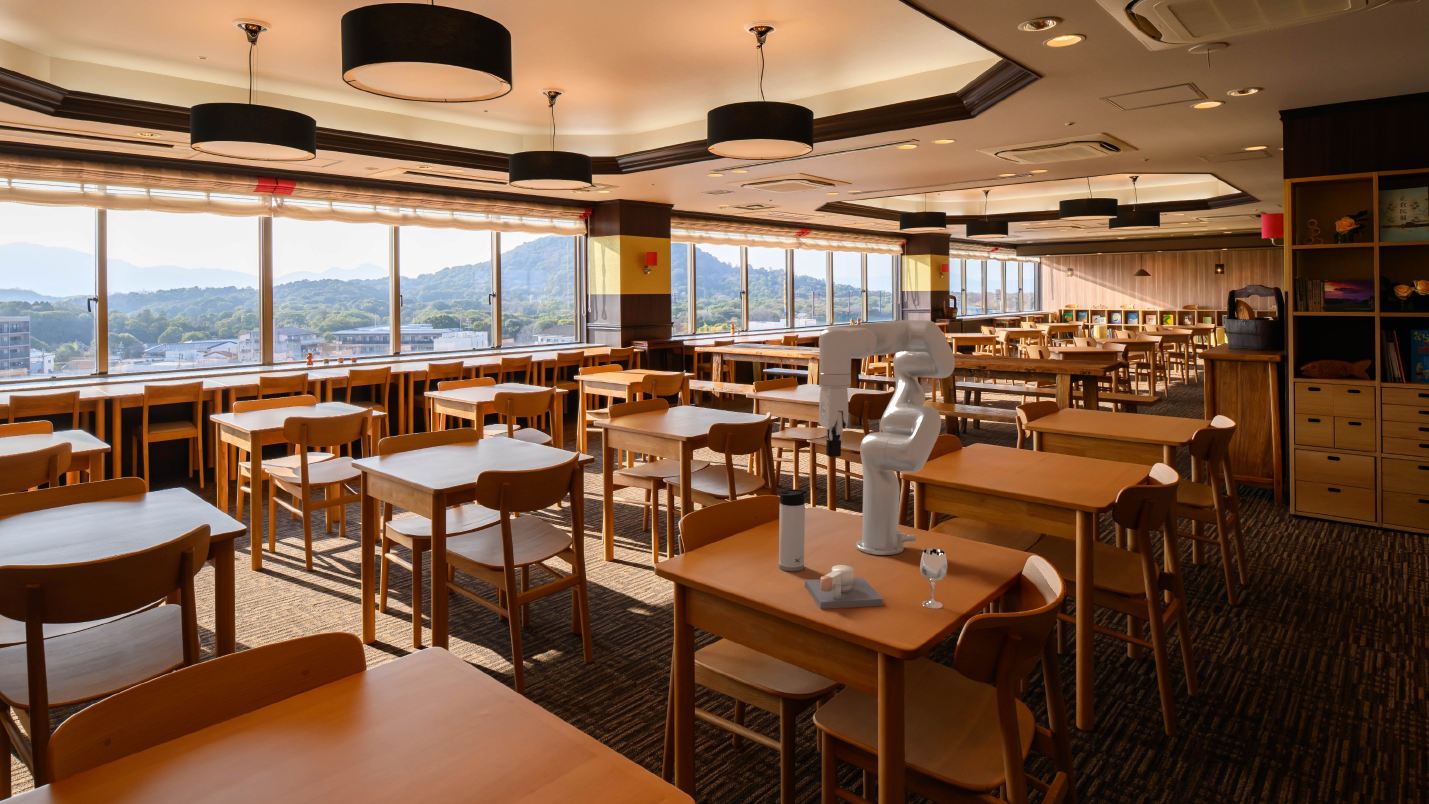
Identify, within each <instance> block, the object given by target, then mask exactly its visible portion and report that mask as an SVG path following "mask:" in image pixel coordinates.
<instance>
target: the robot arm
mask: <svg viewBox="0 0 1429 804" xmlns="http://www.w3.org/2000/svg"><path fill="white" fill-rule="evenodd" d="M818 346H819V359H818V360H819V363H818V364H819V366H818V367H819V369H818V370H819V371H818V372H819V373H818V387H819V388H820V392H819V402H818V403H819V404H818V417H817V418H818V421H817V422H818V424H819V425H820V426H821V427H823V428H825V434H826V442H825V443H826V446H825V447H826V448H825V449H826V451H825V452H826V453H825V455H826V456H828V457H829V458H833V457H834V458H835V457H837V458H838V457H841V456H842V435H843V434H844V433H843V432H844V431H843V429H844V430H845V429H847V427H848V424H849V423H848V422H849V396H848V395H849V394H848V388H851V387H852V386H851V384H852V383H851V382H852V380H851V379H852V377H851V376H852V375H851V373H852V359H866V358H869V357H871V356H885V355H890V354H894V356H893V361H892V362H893V371H894V380H895V381H894V382H895V391H894V393H893V395H892V397H891V398H890V400H889V403H888V404H887V406H886V409H885V410H884V411H883V414H882V415H881V419H880V430H881V431H880V432H879V431H878V432H875V431H874V432H870V433H868V434H866V435H865V436H864V437H863V438H862V440H861V443H860V448H859V453H860V459H861V467H862V477H863V478H862V480H863V481H862V482H863V483H862V485H863V486H862V487H863V488H862V526H861V527H862V530H861V539H859V540H856V542H855V547H856V549H857V550H859V551H861V552H863V553H864V554H869V555H878V556H889V555H890V556H892V555H897V554H900V553H902V552H903V551H904V547H905V546H904V544H905V542H908V543H911V542H912V543H913V542H914V543H915V542H916V540H917V539H916V535H915V534H908V533H907V532H902V533H901V532H900V531H899V518H900V517H899V515H900V513H899V512H900V509H899V508H900V483H899V480H898V477H897V475H896V473H895V472H900V473H901V472H902V473H909V474H910V473H912V474H915V473H918V472H919V471H921V470H922V469H923V468H924V466H925V464H926V463H927V461H928V459H929V457H930V454H931V452H932V451H933V448H934V447H935V444H936V442H937V440H938V437H939V435H940V432H941V429H942V428H941V427H942V419H941V415H940V411H938V410H937V409H936V408H935V407H932V406H929V405H924V404H925V401H926V394H925V392H924V391H925V390H924V389H923V387H922V386H921V384H920V383H919V381H918V379H917V378H927V379H928V378H930V379H931V378H932V379H945V378H948V377H950V376H951V375H952V374H953V372H954V370H955V367H956V366H955V365H956V360H955V355H954V352H953V349H952V348H951V346H950V344H949V341H948V340H947V337H946V336H945V334H944V332H943V331H942V330H941V328H940V327H939V325H938V324H936V322H934V321H932V320H925V319H923V320H918V319H916V320H913V319H911V320H910V319H909V320H907V319H906V320H905V319H900V320H891V321H881V322H870V323H867V322H866V323H862V324H860V323H859V324H850V325H849V324H848V325H847V324H846V325H837V326H836V325H835V326H829V327H826V328H825V329H823V330H822V331H821V332H820V333H819V339H818ZM894 471H895V472H894Z"/></svg>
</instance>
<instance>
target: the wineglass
mask: <svg viewBox="0 0 1429 804" xmlns="http://www.w3.org/2000/svg"><path fill="white" fill-rule="evenodd" d="M947 560H948V559H947V554H946V551H944V550H943V549H938V548H925V549H923V551H922V554H921V557H920V564H919V570H920V573H921V576H922V577H924V578H925V580H926V579H927V580H929V581H931V582H930V589H931V598H930V599H929V600H925V601H922V602H921V605H922V606H923V607H925V608H927V609H933V610H934V609H935V610H937V609H941V608H943V605H944V604H943V603H941V602H939V601H937V600H935V597H934V596H935V593H934V592H935V588H936V582H937V581H941V580H943V579H944V578H945V577H946V575H947V574H948V561H947Z"/></svg>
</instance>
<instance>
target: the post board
mask: <svg viewBox="0 0 1429 804" xmlns="http://www.w3.org/2000/svg"><path fill="white" fill-rule="evenodd" d="M820 586H821V578H818V579H813V578H812V579H804V587H805V588H806V590H807V591H808V593H809V594H810V596H811V595H812V596H811V597H812V599H813V598H814V599H813V600H814V602H815V603H816V605H818V608H820V610H824V609H827V608H828V609H843V607H845V608H859V607H860V608H861V607H879V606H883V605H884V599H883V597H882V596H881V595H880V594H879V593H878V592H877V591H876V590H875V589H874V587H872V586H871V585H870V583H869V582H868V581H867V580H866V579H865V578H864V577H863V576H858V577H857V576H856V577H855V576H854V583H853V584H851V585H840V584H834V589H832V590H831V591H829V592H824V591H821V590H820ZM841 607H842V608H841Z"/></svg>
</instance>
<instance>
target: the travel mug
mask: <svg viewBox="0 0 1429 804" xmlns="http://www.w3.org/2000/svg"><path fill="white" fill-rule="evenodd" d="M805 495H807V489H798V488H797V489H786V490H783V491H781V492H780V493H779V517H778V518H779V522H778V523H779V528H778V529H779V531H778V533H779V534H778V535H779V536H778V538H779V539H778V541H779V542H778V543H779V545H778V547H779V548H778V560H779V561H778V568H779V569H780V570H782V571H785V572H793V573H794V572H800V571H802V570H803V569H804V568H805V523H806V522H805V519H806V518H805V516H806V515H805V512H806V506H805V505H806V502H805V497H806V496H805Z"/></svg>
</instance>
